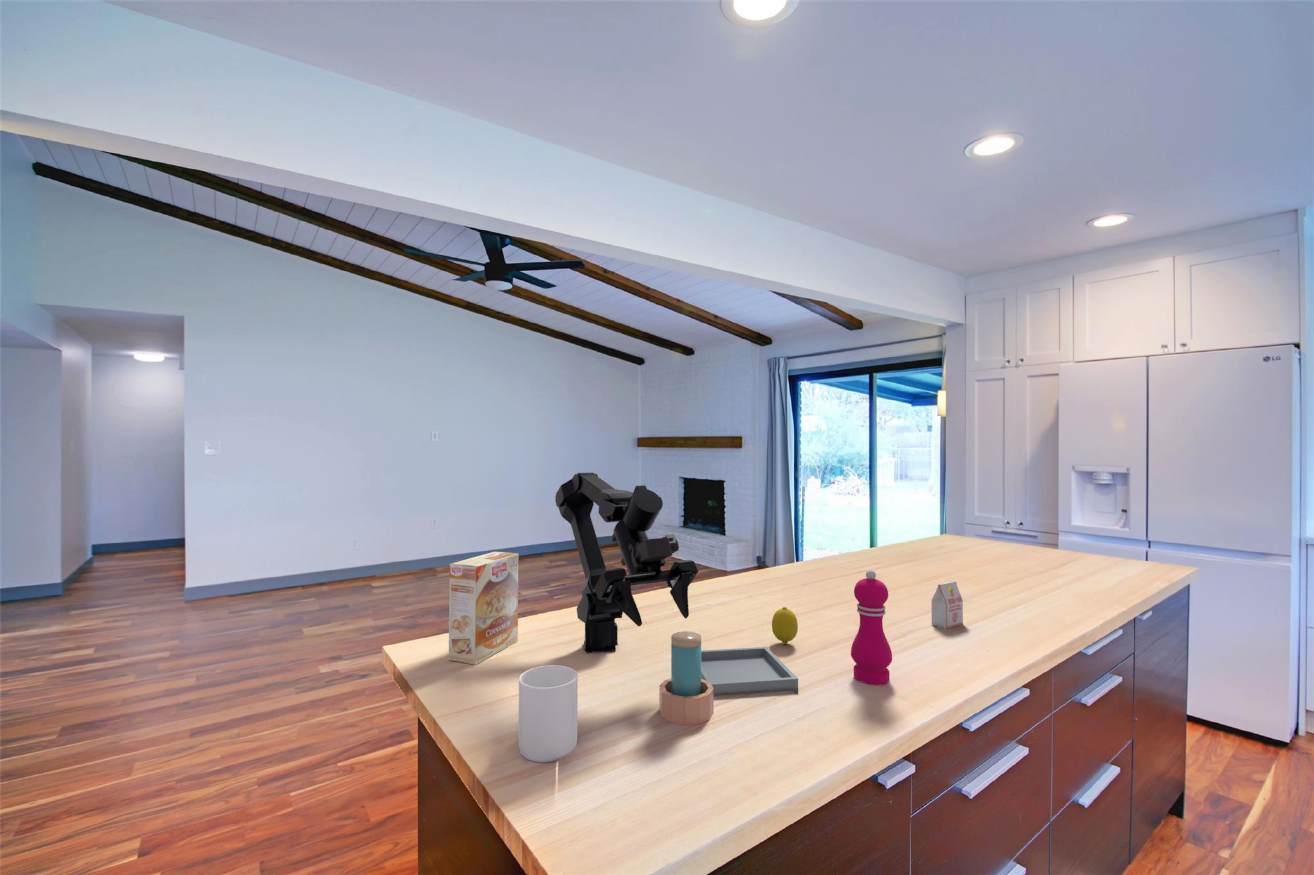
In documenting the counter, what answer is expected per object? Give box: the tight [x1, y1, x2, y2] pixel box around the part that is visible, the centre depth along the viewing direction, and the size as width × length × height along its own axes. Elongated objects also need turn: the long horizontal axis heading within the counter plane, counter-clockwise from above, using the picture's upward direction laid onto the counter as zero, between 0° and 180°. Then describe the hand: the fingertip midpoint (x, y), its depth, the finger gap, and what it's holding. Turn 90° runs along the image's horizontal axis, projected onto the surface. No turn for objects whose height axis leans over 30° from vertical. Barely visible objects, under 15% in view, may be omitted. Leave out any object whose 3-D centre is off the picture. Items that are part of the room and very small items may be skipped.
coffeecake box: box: [448, 551, 520, 665], centre depth 121 cm, size 15×7×20 cm, turn 160°
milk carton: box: [931, 580, 964, 629], centre depth 138 cm, size 4×7×10 cm, turn 121°
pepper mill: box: [850, 569, 893, 686], centre depth 106 cm, size 7×7×20 cm
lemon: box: [771, 606, 799, 645], centre depth 125 cm, size 6×6×8 cm
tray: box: [701, 646, 799, 697], centre depth 107 cm, size 16×16×2 cm
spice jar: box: [670, 630, 702, 697], centre depth 92 cm, size 5×5×12 cm
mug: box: [518, 664, 579, 764], centre depth 83 cm, size 12×8×10 cm
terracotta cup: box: [658, 678, 715, 726], centre depth 92 cm, size 8×8×4 cm
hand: (664, 620), depth 98 cm, fingers open, 9 cm apart
